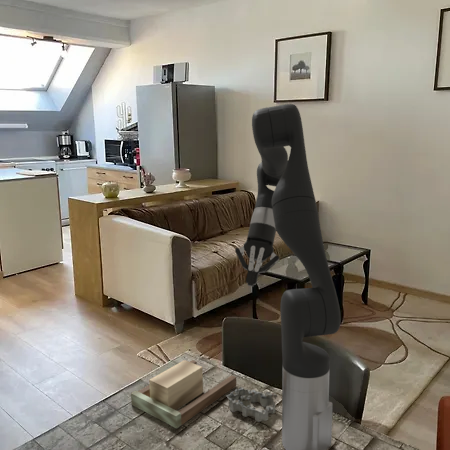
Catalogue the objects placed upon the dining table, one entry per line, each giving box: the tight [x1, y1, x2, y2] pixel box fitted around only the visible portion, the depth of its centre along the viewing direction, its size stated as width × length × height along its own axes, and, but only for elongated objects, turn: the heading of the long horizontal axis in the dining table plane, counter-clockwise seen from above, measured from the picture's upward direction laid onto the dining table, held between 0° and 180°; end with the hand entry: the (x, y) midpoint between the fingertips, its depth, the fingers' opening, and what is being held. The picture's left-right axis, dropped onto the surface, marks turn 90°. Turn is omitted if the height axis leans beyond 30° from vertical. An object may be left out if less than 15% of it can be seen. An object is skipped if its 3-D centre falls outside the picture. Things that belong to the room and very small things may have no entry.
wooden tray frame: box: [130, 359, 237, 429], centre depth 113 cm, size 15×22×3 cm
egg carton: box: [225, 386, 278, 423], centre depth 106 cm, size 11×8×4 cm
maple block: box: [148, 359, 204, 411], centre depth 111 cm, size 6×12×7 cm, turn 141°
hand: (250, 285), depth 124 cm, fingers closed
